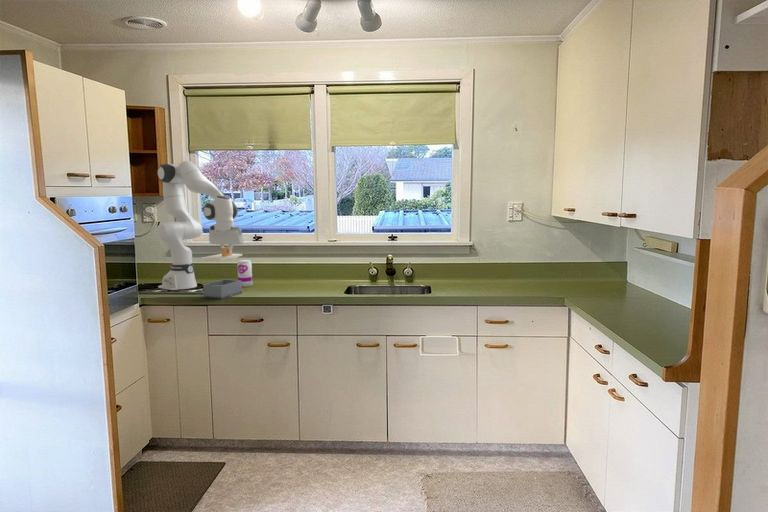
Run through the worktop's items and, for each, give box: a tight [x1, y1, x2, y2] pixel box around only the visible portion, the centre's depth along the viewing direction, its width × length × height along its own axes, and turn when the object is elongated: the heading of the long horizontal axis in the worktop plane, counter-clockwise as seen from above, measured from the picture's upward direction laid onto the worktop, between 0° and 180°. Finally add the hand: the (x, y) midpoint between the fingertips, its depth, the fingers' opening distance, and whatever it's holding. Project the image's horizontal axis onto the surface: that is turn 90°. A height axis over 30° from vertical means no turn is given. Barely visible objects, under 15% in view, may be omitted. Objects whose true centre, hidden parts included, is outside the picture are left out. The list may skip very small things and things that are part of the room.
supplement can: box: [236, 259, 254, 288], centre depth 294 cm, size 8×8×15 cm
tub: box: [202, 278, 243, 300], centre depth 268 cm, size 12×16×7 cm
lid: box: [200, 246, 243, 262], centre depth 265 cm, size 13×17×6 cm
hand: (227, 252), depth 264 cm, fingers closed on lid
